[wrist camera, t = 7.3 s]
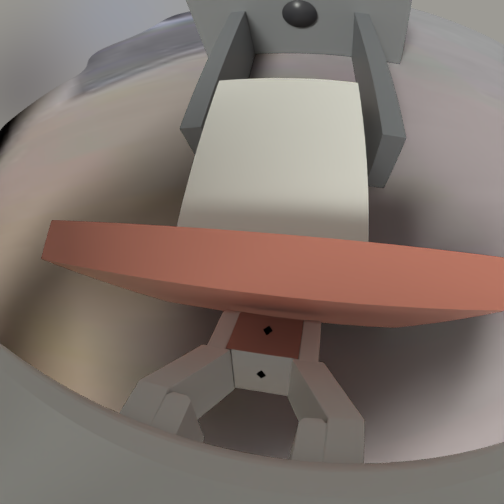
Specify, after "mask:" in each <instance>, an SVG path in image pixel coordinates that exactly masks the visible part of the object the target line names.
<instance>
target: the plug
mask: <svg viewBox="0 0 504 504" xmlns="http://www.w3.org/2000/svg"><path fill="white" fill-rule="evenodd" d="M41 259H43V260H45V261H48V262H51V263H53V264H56V265H58V266H61V267H64V268H67V269H69V270H72V271H75V272H77V273H80V274H83V275H86V276H89V277H92V278H95V279H97V280H100V281H103V282H106V283H109V284H112V285H115V286H119V287H122V288H125V289H128V290H131V291H134V292H137V293H141V294H144V295H147V296H151V297H154V298H157V299H161V300H164V301H168V302H173V303H179V304H184V305H190V306H196V307H202V308H208V309H215V310H221V311H225V310H226V309H227V310H233V311H239V312H247V313H253V314H260V315H266V316H273V317H282V318H291V319H300V320H314V321H320V322H321V323H330V324H342V325H355V326H369V327H386V328H398V327H407V326H415V325H423V324H431V323H438V322H445V321H452V320H458V319H464V318H470V317H476V316H481V315H486V314H491V313H496V312H501V311H504V258H503V257H495V256H488V255H480V254H472V253H464V252H455V251H447V250H438V249H429V248H420V247H411V246H402V245H393V244H383V243H373V242H369V203H368V176H367V159H366V146H365V135H364V125H363V116H362V108H361V100H360V93H359V86H358V83H356V82H346V81H336V80H323V79H303V78H255V79H235V80H222V81H219V83H218V85H217V88H216V91H215V94H214V97H213V100H212V103H211V106H210V109H209V112H208V115H207V118H206V121H205V124H204V128H203V131H202V134H201V137H200V141H199V144H198V147H197V151H196V154H195V158H194V161H193V165H192V168H191V172H190V176H189V179H188V183H187V187H186V191H185V194H184V198H183V202H182V206H181V210H180V215H179V219H178V223H177V226H161V225H144V224H125V223H106V222H84V221H60V220H52V221H51V225H50V228H49V231H48V235H47V238H46V242H45V246H44V249H43V253H42V257H41Z"/></svg>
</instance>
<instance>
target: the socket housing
mask: <svg viewBox="0 0 504 504" xmlns="http://www.w3.org/2000/svg"><path fill="white" fill-rule="evenodd" d="M186 2H187V4H188V7H189V9H190V12H191V14H192V17H193V20H194V22H195V25H196V27H197V30H198V32H199V35H200V38H201V40H202V43H203V45H204V48H205V51H206V53H207V56H208V60H207V62H206V64H205V67H204V69H203V71H202V74H201V76H200V78H199V81H198V83H197V85H196V88H195V90H194V93H193V95H192V97H191V100H190V103H189V105H188V108H187V110H186V113H185V115H184V118H183V121H182V124H181V126H180V130H181V132H182V134H183V135H184V137H185V139H186V140H187V142H188V144H189V145H190V147H191V149H192V150H193V152H194V154H196V151H197V147H198V144H199V141H200V137H201V134H202V131H203V128H204V124H205V121H206V118H207V115H208V112H209V109H210V106H211V103H212V100H213V97H214V94H215V91H216V88H217V85H218V83H219V81H222V80H235V79H249V75H250V71H251V67H252V63H253V60H254V56H255V54H257V53H315V54H331V55H343V56H352V61H353V67H354V73H355V79H356V83H358V86H359V93H360V100H361V108H362V116H363V125H364V135H365V146H366V159H367V176H368V186H374V187H382V188H384V186H385V184H386V182H387V180H388V178H389V176H390V174H391V171H392V169H393V167H394V165H395V163H396V160H397V158H398V156H399V154H400V151H401V149H402V147H403V144H404V142H405V140H406V135H405V130H404V125H403V120H402V116H401V112H400V107H399V103H398V99H397V95H396V92H395V88H394V84H393V81H392V77H391V74H390V71H389V68H388V64H387V62H392V63H398V64H400V61H401V56H402V52H403V47H404V42H405V37H406V32H407V27H408V21H409V15H410V9H411V3H412V0H186Z"/></svg>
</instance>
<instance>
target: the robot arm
mask: <svg viewBox="0 0 504 504" xmlns="http://www.w3.org/2000/svg"><path fill="white" fill-rule="evenodd" d="M303 322H304V323H303ZM302 330H303V331H302ZM320 335H321V322H320V321H314V320H300V319H291V318H282V317H273V316H266V315H260V314H253V313H247V312H239V311H233V310H227V309H226V310H225V311H224V312H223V313H222V315H221V317H220V319H219V321H218V323H217V325H216V327H215V330H214V332H213V334H212V336H211V338H210V340H209V342H208V344H207V345H203V344H202V345H201V346H199V347H197V348H195V349H194V350H192V351H190V352H188V353H187V354H185V355H183V356H182V357H180V358H178V359H176V360H174V361H173V362H171V363H169V364H167V365H166V366H164V367H162V368H160V369H158V370H157V371H155V372H153V373H151V374H149V375H147V376H146V377H144V378H142V379H140V380H139V382H138V383H137V385H136V387H135V388H134V390H133V391H132V393H131V395H130V396H129V398H128V400H127V401H126V403H125V405H124V406H123V408H122V410H121V411H120V413H117V412H115V411H113V410H111V409H108V408H106V407H104V406H102V405H100V404H98V403H96V402H94V401H92V400H90V399H88V398H86V397H84V396H82V395H80V394H78V393H76V392H75V391H73V390H71V389H69V388H67V387H65V386H64V385H62V384H60V383H59V382H57V381H55V380H54V379H52V378H50V377H49V376H47V375H45V374H44V373H42V372H41V371H39V370H37V369H36V368H34V367H33V366H31V365H30V364H28V363H27V362H26V361H24V360H23V359H21V358H20V357H18V356H17V355H16V354H14V353H13V352H11V351H10V350H9V349H7V348H6V347H5V346H3V345H2V344H1V343H0V504H504V442H502V443H499V444H495V445H492V446H488V447H484V448H481V449H477V450H472V451H468V452H464V453H459V454H454V455H448V456H443V457H436V458H430V459H422V460H414V461H403V462H390V463H364V434H365V420H364V419H363V417H362V416H361V414H360V413H359V412H358V410H357V409H356V407H355V406H354V405H353V403H352V402H351V400H350V399H349V398H348V396H347V395H346V393H345V392H344V390H343V389H342V388H341V386H340V385H339V383H338V382H337V381H336V379H335V378H334V376H333V375H332V374H331V372H330V371H329V369H328V368H327V366H326V365H325V364H324V362H319V350H320ZM234 387H235V388H241V389H247V390H254V391H261V392H266V393H272V394H278V395H284V396H288V400H289V402H290V404H291V406H292V408H293V411H294V413H295V415H296V417H297V419H298V421H299V423H298V427H297V431H296V434H295V438H294V441H293V445H292V448H291V451H290V455H289V459H282V458H274V457H268V456H262V455H256V454H250V453H245V452H240V451H235V450H231V449H226V448H222V447H218V446H214V445H210V444H206V443H203V441H204V435H203V433H202V430H201V427H200V425H199V422H198V419H199V418H200V417H201V416H202V415H204V414H205V413H206V412H207V411H209V410H210V409H211V408H212V407H214V406H215V405H216V404H217V403H218V402H220V401H221V400H222V399H223V398H224V397H226V396H227V395H228V394H229V393H230V392H232V391H233V390H234Z"/></svg>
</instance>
